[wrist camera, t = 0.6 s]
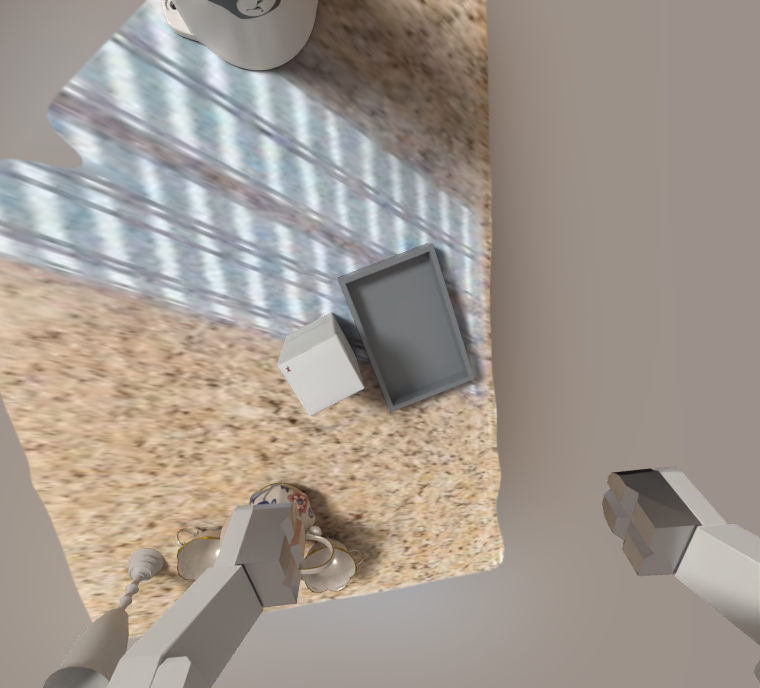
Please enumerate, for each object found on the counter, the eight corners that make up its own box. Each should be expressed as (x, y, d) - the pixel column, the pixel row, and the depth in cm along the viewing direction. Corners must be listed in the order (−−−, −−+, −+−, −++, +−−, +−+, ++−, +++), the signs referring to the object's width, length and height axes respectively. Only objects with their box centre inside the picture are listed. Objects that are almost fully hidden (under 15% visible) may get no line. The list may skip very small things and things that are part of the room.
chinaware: (186, 554, 64) (141, 671, 48) (182, 470, 58) (130, 573, 43) (358, 554, 68) (367, 661, 53) (371, 476, 62) (385, 571, 47)
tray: (337, 277, 53) (338, 280, 50) (427, 243, 54) (432, 244, 51) (387, 403, 59) (390, 412, 57) (467, 371, 60) (474, 378, 57)
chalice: (118, 545, 60) (35, 671, 43) (166, 540, 61) (103, 662, 44) (127, 583, 62) (52, 719, 45) (173, 578, 63) (116, 709, 46)
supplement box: (311, 379, 57) (307, 419, 45) (285, 334, 55) (274, 364, 42) (357, 356, 57) (366, 389, 45) (333, 310, 55) (336, 333, 42)
